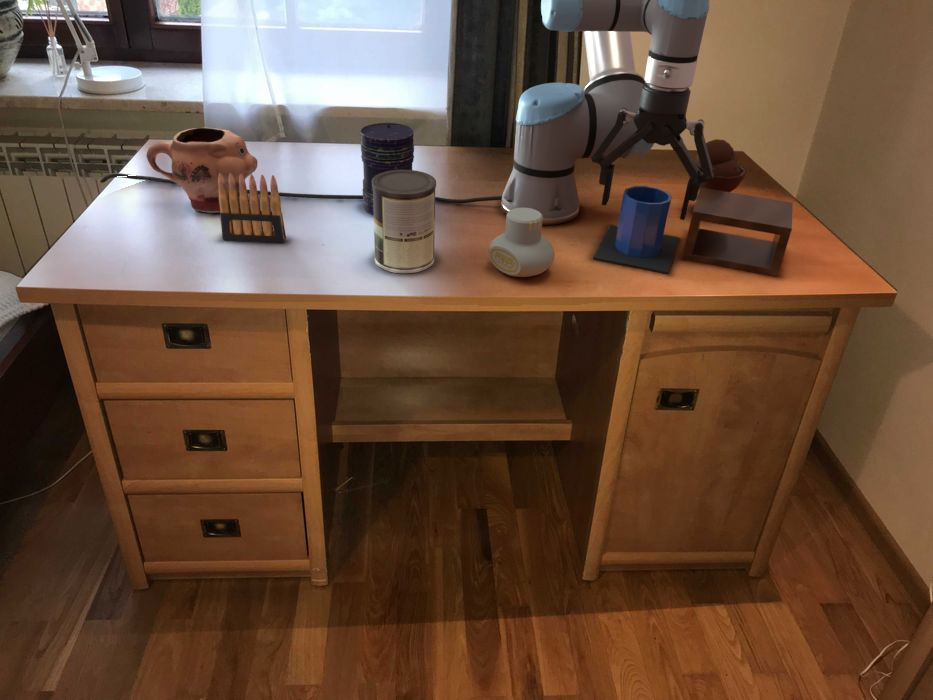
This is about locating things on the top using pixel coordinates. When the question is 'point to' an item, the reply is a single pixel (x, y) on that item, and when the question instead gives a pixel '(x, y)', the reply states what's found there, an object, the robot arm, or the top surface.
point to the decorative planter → (204, 163)
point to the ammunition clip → (250, 211)
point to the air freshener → (522, 245)
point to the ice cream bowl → (722, 167)
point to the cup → (642, 221)
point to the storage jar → (384, 153)
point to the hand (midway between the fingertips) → (643, 209)
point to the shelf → (734, 247)
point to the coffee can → (404, 220)
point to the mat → (656, 263)
